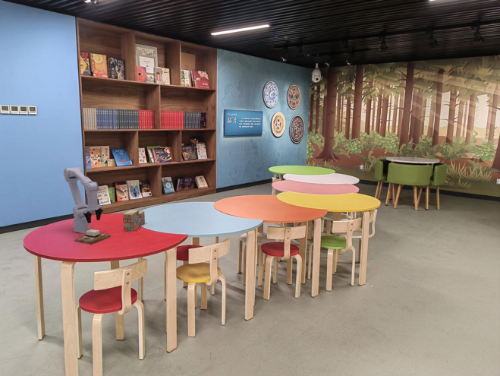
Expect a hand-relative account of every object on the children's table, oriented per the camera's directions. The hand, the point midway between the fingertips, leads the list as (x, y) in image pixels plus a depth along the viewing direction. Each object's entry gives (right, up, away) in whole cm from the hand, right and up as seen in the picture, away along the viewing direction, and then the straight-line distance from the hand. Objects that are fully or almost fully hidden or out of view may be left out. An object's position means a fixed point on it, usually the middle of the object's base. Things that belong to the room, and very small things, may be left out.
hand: (93, 221), depth 247 cm
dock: (+2, -11, -6) cm, 12 cm away
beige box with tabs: (+2, -9, -6) cm, 11 cm away
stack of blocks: (+20, -6, +23) cm, 31 cm away
